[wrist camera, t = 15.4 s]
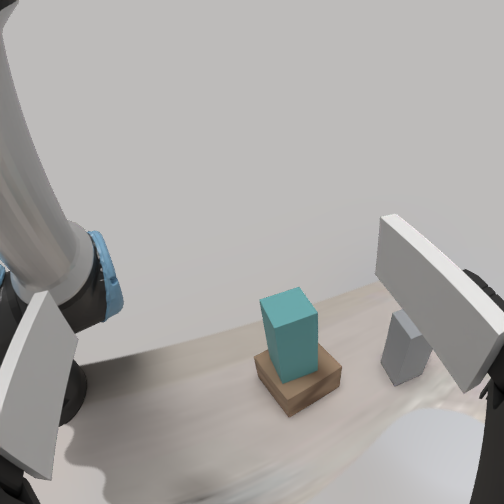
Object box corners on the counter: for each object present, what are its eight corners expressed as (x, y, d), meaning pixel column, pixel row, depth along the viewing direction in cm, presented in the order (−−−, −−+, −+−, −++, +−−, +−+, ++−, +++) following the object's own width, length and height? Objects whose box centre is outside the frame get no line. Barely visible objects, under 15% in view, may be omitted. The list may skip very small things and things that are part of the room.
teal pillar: (282, 383, 35) (274, 328, 29) (269, 357, 39) (259, 299, 33) (317, 370, 36) (317, 312, 30) (302, 345, 39) (299, 286, 34)
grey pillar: (394, 386, 36) (411, 339, 31) (380, 362, 40) (392, 312, 34) (421, 374, 36) (441, 326, 31) (406, 351, 40) (421, 302, 35)
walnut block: (289, 418, 35) (287, 400, 33) (258, 377, 42) (253, 356, 39) (339, 387, 38) (342, 366, 35) (305, 352, 44) (304, 329, 42)
